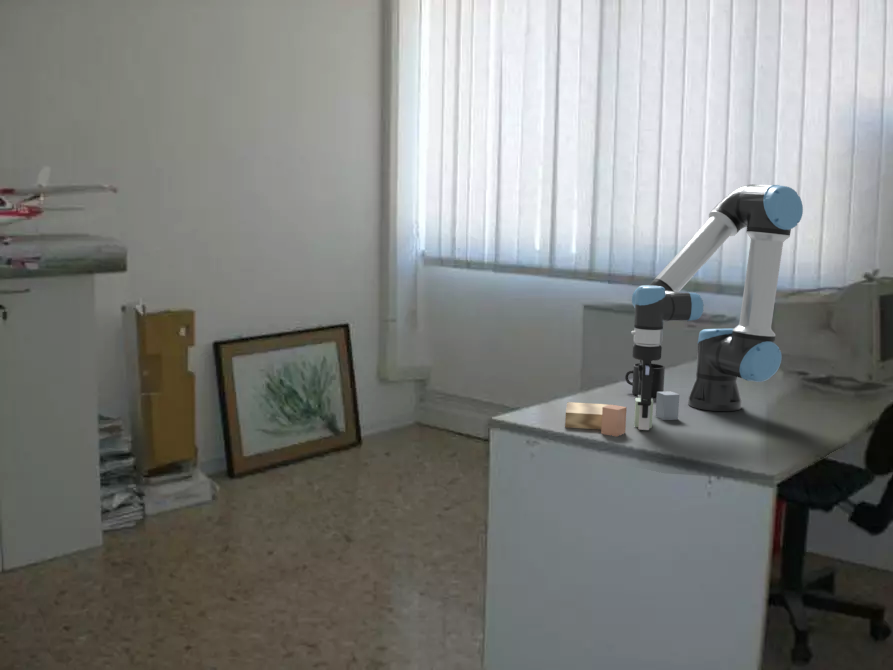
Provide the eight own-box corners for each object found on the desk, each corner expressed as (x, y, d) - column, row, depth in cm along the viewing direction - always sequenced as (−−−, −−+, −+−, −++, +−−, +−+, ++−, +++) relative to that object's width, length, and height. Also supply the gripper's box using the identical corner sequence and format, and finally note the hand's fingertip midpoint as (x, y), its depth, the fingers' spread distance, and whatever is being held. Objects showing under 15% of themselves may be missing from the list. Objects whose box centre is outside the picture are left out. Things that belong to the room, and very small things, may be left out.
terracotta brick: (609, 430, 269) (611, 404, 268) (625, 433, 266) (626, 407, 265) (601, 433, 265) (602, 407, 264) (616, 436, 262) (618, 409, 261)
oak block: (614, 419, 282) (614, 404, 281) (614, 430, 269) (615, 415, 268) (566, 416, 283) (567, 402, 283) (565, 427, 271) (565, 412, 270)
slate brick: (669, 415, 288) (671, 391, 287) (677, 419, 283) (679, 394, 282) (655, 416, 286) (656, 391, 285) (663, 420, 282) (664, 395, 281)
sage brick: (650, 424, 277) (652, 398, 276) (651, 428, 273) (653, 402, 272) (633, 423, 278) (635, 397, 277) (634, 427, 273) (635, 401, 272)
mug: (629, 389, 323) (630, 361, 321) (666, 393, 317) (668, 365, 316) (620, 394, 314) (621, 365, 313) (658, 399, 309) (660, 369, 308)
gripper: (631, 336, 284) (627, 413, 287) (634, 350, 261) (629, 433, 264) (659, 338, 283) (654, 414, 286) (664, 352, 259) (659, 435, 263)
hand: (642, 424), depth 275 cm, fingers open, 12 cm apart
